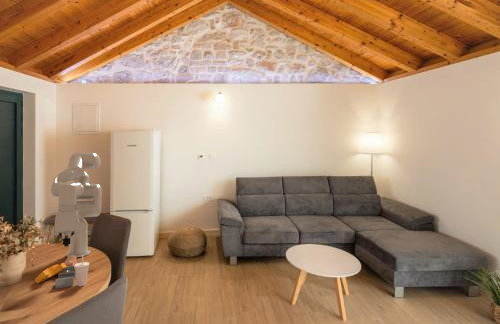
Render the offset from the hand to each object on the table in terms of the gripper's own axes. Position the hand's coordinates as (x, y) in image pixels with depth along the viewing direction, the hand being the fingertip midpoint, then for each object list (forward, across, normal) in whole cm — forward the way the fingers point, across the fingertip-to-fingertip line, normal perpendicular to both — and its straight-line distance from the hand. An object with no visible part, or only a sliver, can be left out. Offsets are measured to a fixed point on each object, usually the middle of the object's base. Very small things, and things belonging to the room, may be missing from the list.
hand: (66, 245), depth 149 cm
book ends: (+16, 0, +2) cm, 16 cm away
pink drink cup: (+17, -7, +10) cm, 21 cm away
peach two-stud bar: (+16, 0, -15) cm, 22 cm away
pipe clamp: (+15, +9, -5) cm, 18 cm away
